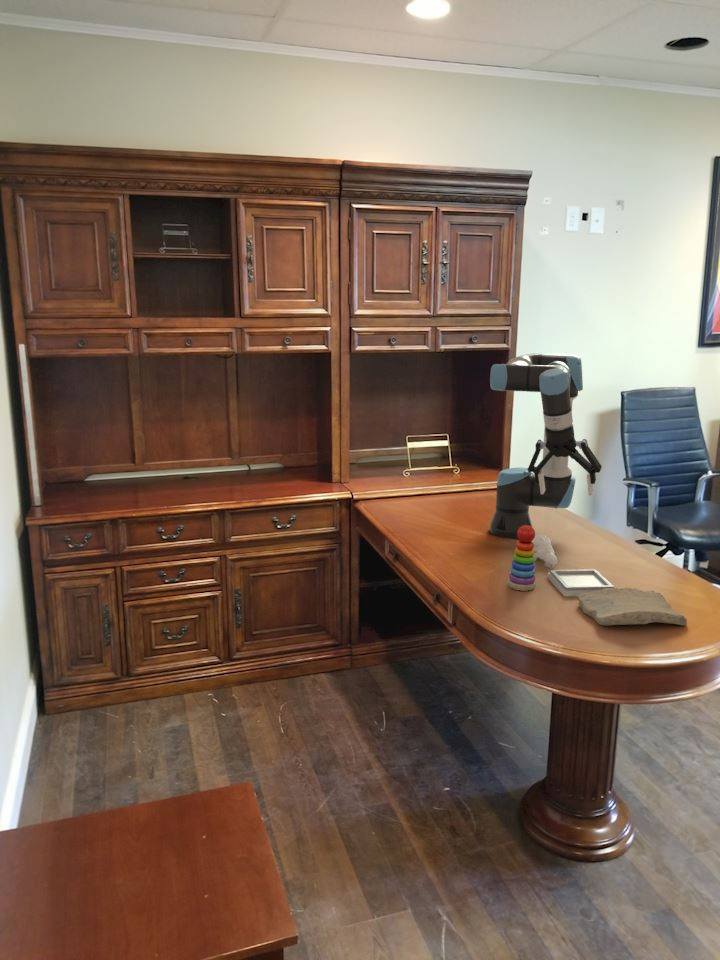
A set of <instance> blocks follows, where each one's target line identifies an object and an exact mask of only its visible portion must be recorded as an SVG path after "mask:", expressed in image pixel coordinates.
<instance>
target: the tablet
mask: <svg viewBox="0 0 720 960" xmlns="http://www.w3.org/2000/svg"><path fill="white" fill-rule="evenodd" d="M576 598H577V600H578V605H579V606H580V607H581V610H582V612H583V613H584V614H585V615H588V616H589V617H591V618H592V619H594V620H595V622H596V623H597V624H598V625H600V626H604V627H605V626H621V625H622V626H623V625H624V626H625V625H647V624H650V623H660V624H661V623H663V624H670V625H671V624H673V625H677V626H678V625H679V626H684V627H686V626H687V625H688V622H687V621H688V618H686V617H685V615H683V614H680V613H679V612H678V611H677V610H676V609H674V608H673V607H672V605H671V604H670V603H669V602H668V601H667V600H666V598H665V596H664V595H663V594H662V593H661V592H656V591H654V590H650V591H648V590H647V591H646V590H642V589H637V588H635V587H634V588H630V587H624V588H618V587H614V588H606V589H603V590H599V591H595V592H589V593H585V594H581V595H579V596H576Z"/></svg>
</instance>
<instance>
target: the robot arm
mask: <svg viewBox="0 0 720 960" xmlns="http://www.w3.org/2000/svg"><path fill="white" fill-rule="evenodd" d="M582 367H583V365H582V359H581V357H580V356H579V355H576V354H568V353H528V354H523V355H519V356H516V357H513V358H512V359H510V360H509V361H508V362H506V363H501V364H499V363H495V364H493V365H492V366H491V368H490V375H489V376H490V377H489V384H490V385H489V386H490V389H491V390H493V391H500V392H504V391H505V392H529V393H530V392H531V393H540V398H541V405H542V412H543V413H542V415H543V423H544V431H543V432H544V433H543V441H542V440H541V439H537V441H536V443H535V451H534V453H533V455H532V458H531V460H530V463H529V465H528V467H521V466H520V467H509V468H506V469H502V470H501V471H499V472H498V475H497V481H496V497H495V512H494V513H493V517H492V519H491V522H490V524H489V532H490V533H491V534H492V535H495V536H497V537H501V538H505V539H506V538H509V539H519V538H518V536H517V531H518V529H519V528H520V527H521V526H524V525H528V526H531V527H532V528H533V525H532V520H531V517H530V514H529V513H530V512H529V509H530V507H541V508H548V509H549V508H551V509H567V508H569V507H570V505H571V503H572V501H573V496H574V491H575V485H576V481H577V480H576V479H577V477H576V476H575V475H573V473H572V472H573V471H572V469H570V467H569V466H568V465H569V457H570V458H571V460H574V461H575V462H576V463H578V465H579V466H581V468H583V470H585V471H586V472H587V473H586V481H587V491H588V492H587V493H588V496H592V495H593V492H594V487H593V486H594V485H595V483H596V481H597V475H596V473H600V472H601V469H602V467H603V466H602V464H601V463H600V461H599V460H598V459H597V457H596V455H595V454H594V453H593V451H592V449H591V448H590V447H589V443H588V440H587V439H586V438H584V439H582V440H576V438H575V429H574V424H573V422H574V420H573V413H572V412H573V401H574V400H575V399H576V398H577V397H578V396H579V392H581V391H583V389H584V387H583V383H584V381H583V368H582ZM577 447H578V448H579V449H580V450H581V451H582V453H583V455H584V456H585V457H586V458H585V457H584V456H583V455H582V454H581V453H580V452H579V451H578V449H576V448H577ZM541 451H542V460H541V461H540V462H539V463H538V464H537V465H536V462H537V460H538V458H539V455H540V453H541ZM535 465H536V466H535Z"/></svg>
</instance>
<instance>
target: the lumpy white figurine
mask: <svg viewBox="0 0 720 960" xmlns="http://www.w3.org/2000/svg"><path fill="white" fill-rule="evenodd" d="M531 542H533V543H534V548H533V550H534V552H535V553H534V555H533V556H534V557H535V560H534V562H535V561H536V560H537V559H540V560H542V561H544V563H543V565H544V568H545V567H547V568H550V569H553V568H554V567H555V566H556V565H557V564H558V558H557V556H556V555H555V550H554V549H553V545H552V542H551V540H550V538H548V536H546V535H545V534H542V533H539V534H535V538H534V539H533V540H532V541H531Z"/></svg>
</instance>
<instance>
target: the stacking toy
mask: <svg viewBox="0 0 720 960" xmlns="http://www.w3.org/2000/svg"><path fill="white" fill-rule="evenodd" d="M517 536H518V538H517V539H518V540H517V541H516V542H515V543H516V544H515V545H516V547H515V550H514V552H515V554H513V560H512V562H511V567H510V573H509V574H508V575H509V577H508V580H507V584H508V586H509V588H510V589H514V590H515V591H519V590H520V591H522V592H526V591H528V590H529V591H532V590H533V589H535V588H536V580H537V579H536V570H535V567H536V565H535V561H536V560H535V557H534V556H533V555H534V553H535V552H534V550H533V548H534V543H533V542H531V541H532V540H533V539H534V538H535V536H536V531H535V529H534V528H533V526H532V527H531V526H528V525H524V526H521V527H520V528H519V529H518V531H517ZM534 560H535V561H534ZM520 591H519V592H520Z"/></svg>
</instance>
